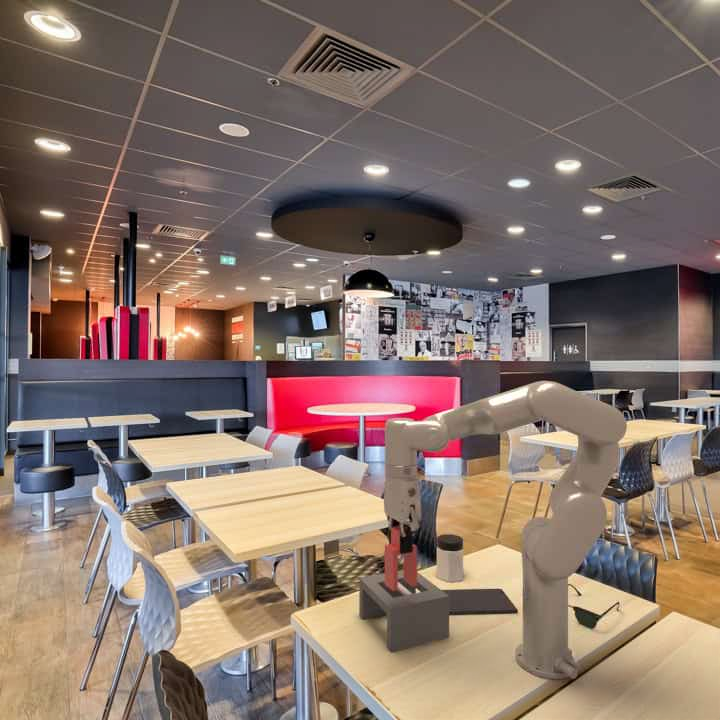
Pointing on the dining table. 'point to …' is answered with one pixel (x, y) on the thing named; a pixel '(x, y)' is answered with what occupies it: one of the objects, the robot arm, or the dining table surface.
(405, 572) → the red stepped block
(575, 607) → the sunglasses
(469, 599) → the notebook
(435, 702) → the dining table surface
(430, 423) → the robot arm
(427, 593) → the grey frame with crossbar
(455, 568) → the jar
